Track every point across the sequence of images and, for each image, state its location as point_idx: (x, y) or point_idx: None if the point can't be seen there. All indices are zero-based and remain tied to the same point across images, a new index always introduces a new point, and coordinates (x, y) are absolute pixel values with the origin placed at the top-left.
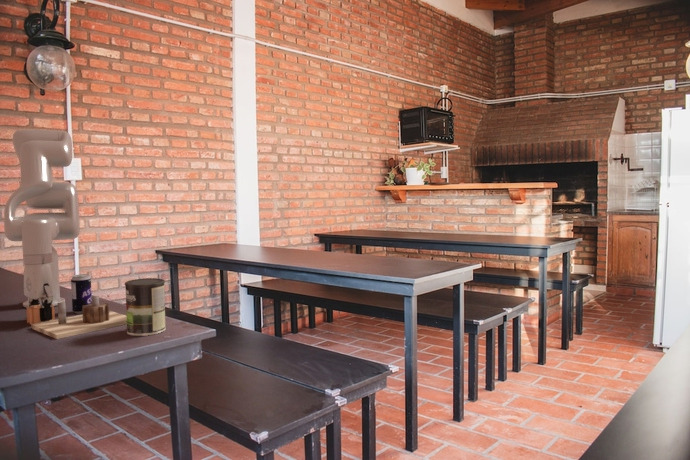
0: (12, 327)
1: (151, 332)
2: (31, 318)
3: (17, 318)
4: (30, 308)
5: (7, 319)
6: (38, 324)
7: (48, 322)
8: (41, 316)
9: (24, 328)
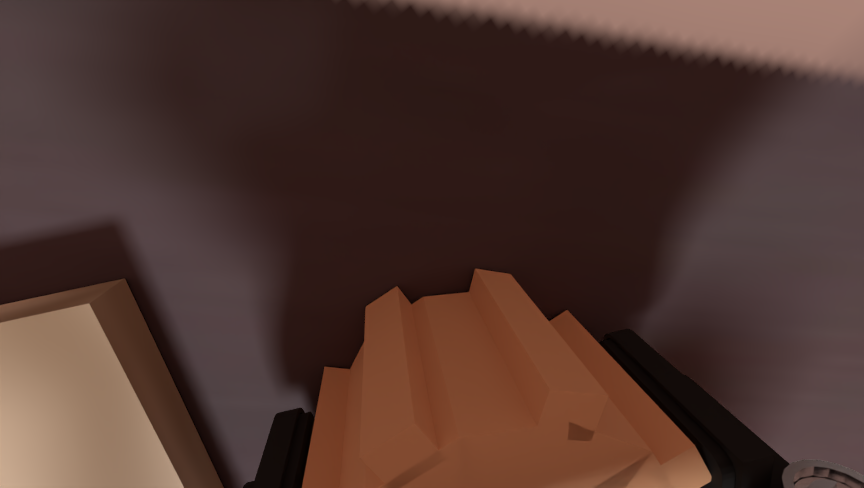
0: (357, 84)
1: None
2: (368, 342)
3: (808, 205)
4: (460, 446)
5: (860, 101)
6: (21, 380)
7: (93, 480)
8: (263, 469)
9: (190, 207)
